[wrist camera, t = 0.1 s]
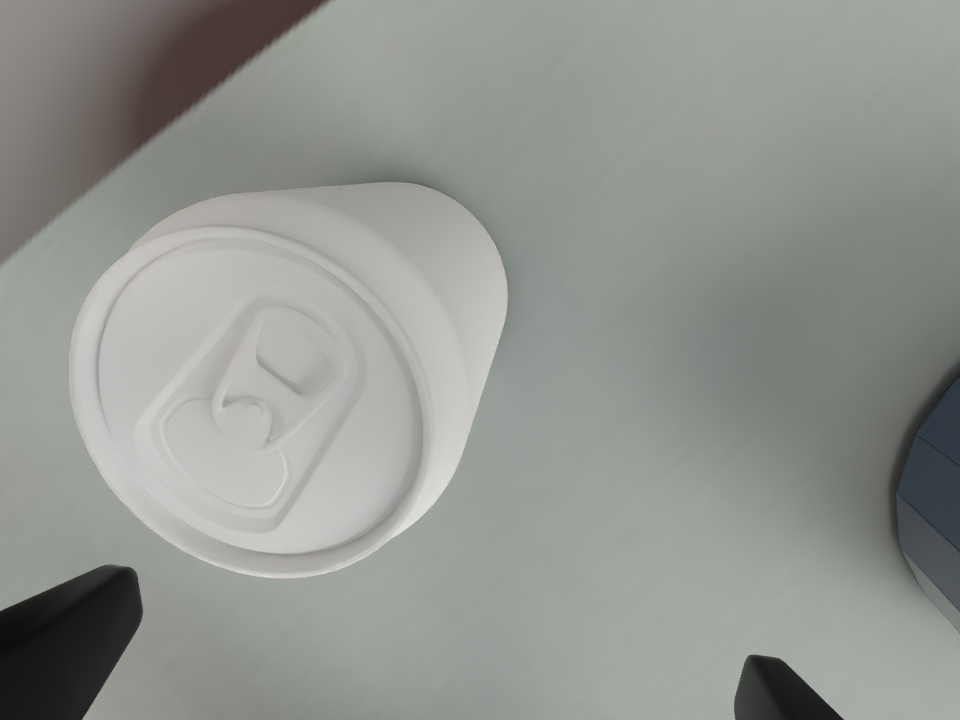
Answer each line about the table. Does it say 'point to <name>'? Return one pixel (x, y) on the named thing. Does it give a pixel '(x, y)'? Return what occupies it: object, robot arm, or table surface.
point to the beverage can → (289, 370)
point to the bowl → (934, 505)
